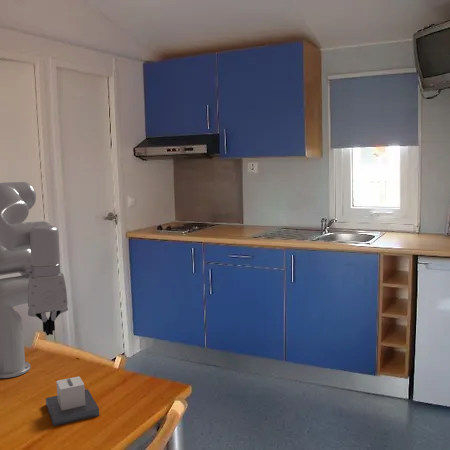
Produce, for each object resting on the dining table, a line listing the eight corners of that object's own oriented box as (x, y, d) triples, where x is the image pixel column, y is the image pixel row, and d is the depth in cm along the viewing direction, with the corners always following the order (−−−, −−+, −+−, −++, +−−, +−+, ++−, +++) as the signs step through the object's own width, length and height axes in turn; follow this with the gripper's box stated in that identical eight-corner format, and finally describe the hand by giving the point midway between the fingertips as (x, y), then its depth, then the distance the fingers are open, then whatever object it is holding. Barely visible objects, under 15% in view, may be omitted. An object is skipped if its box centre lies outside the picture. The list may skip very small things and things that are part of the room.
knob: (57, 401, 147) (56, 379, 147) (80, 396, 150) (79, 375, 149) (61, 410, 142) (60, 388, 141) (85, 405, 145) (84, 383, 144)
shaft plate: (46, 404, 150) (44, 384, 149) (88, 395, 155) (87, 376, 154) (53, 426, 137) (52, 404, 137) (99, 415, 143) (98, 394, 142)
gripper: (18, 276, 138) (22, 342, 140) (76, 270, 144) (78, 333, 147) (15, 270, 144) (19, 333, 147) (70, 264, 151) (73, 325, 154)
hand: (49, 333), depth 147 cm, fingers closed
